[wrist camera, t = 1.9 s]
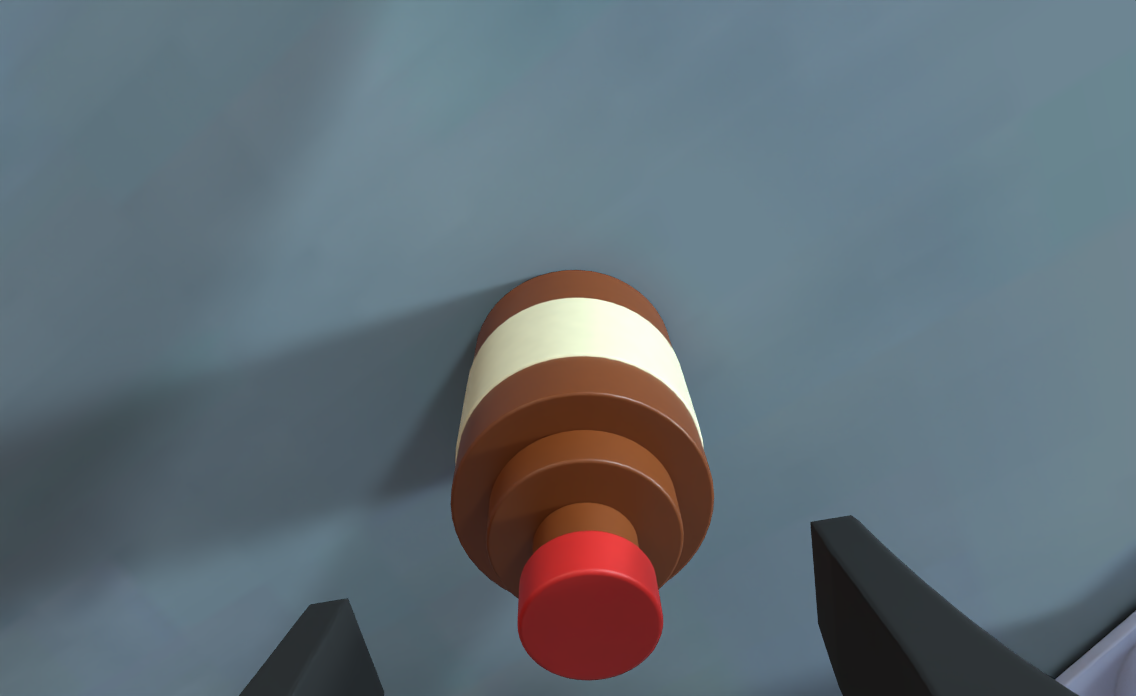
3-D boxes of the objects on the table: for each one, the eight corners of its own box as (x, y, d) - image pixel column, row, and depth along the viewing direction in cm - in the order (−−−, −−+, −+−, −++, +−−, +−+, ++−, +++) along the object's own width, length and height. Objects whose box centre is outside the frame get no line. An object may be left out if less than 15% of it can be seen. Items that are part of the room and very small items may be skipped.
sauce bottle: (713, 331, 21) (820, 586, 13) (601, 476, 22) (633, 781, 14) (540, 228, 19) (536, 436, 11) (436, 389, 21) (369, 670, 13)
